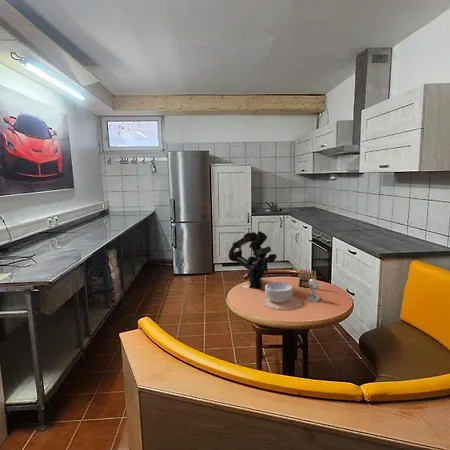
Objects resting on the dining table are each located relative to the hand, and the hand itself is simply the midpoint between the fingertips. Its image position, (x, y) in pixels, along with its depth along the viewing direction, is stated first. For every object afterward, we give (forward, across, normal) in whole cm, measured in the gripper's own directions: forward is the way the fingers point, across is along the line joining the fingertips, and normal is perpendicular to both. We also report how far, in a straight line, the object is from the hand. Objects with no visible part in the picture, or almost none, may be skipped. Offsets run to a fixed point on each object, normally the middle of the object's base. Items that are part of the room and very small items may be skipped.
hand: (266, 271), depth 196 cm
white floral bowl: (+18, 0, 0) cm, 18 cm away
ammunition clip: (+12, +28, +7) cm, 31 cm away
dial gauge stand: (+24, +18, -5) cm, 30 cm away
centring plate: (+21, 0, -2) cm, 21 cm away
